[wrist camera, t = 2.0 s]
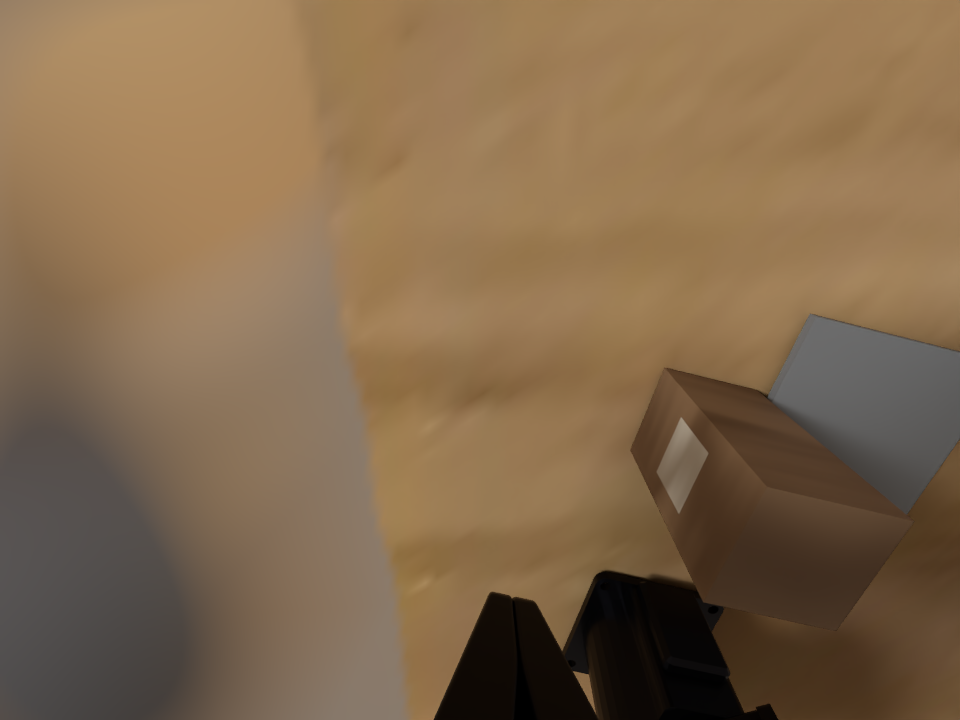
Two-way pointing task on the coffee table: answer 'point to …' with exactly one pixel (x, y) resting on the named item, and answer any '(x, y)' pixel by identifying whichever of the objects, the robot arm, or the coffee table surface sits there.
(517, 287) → the coffee table surface
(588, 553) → the coffee table surface
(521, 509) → the coffee table surface
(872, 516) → the walnut block
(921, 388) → the felt mat
